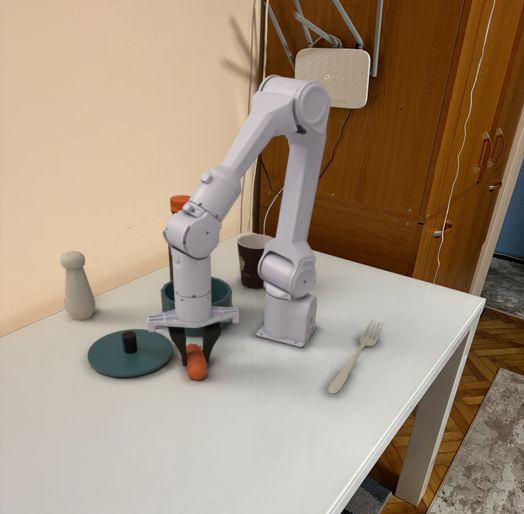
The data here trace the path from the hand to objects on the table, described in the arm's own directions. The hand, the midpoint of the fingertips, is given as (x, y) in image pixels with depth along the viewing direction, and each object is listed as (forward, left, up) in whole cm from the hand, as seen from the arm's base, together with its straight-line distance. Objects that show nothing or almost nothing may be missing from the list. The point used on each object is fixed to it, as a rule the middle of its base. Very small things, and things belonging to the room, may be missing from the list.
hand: (195, 361), depth 86 cm
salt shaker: (+29, -6, -2) cm, 30 cm away
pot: (+8, -15, -1) cm, 17 cm away
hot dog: (0, 0, -1) cm, 1 cm away
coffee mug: (+5, -37, -2) cm, 37 cm away
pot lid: (+12, +2, -1) cm, 12 cm away
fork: (-24, -15, -2) cm, 29 cm away
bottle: (+17, -26, -2) cm, 31 cm away
